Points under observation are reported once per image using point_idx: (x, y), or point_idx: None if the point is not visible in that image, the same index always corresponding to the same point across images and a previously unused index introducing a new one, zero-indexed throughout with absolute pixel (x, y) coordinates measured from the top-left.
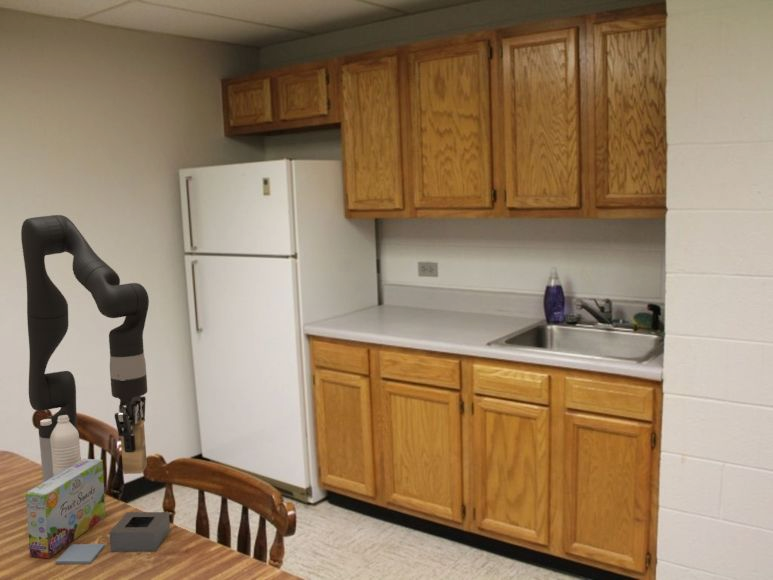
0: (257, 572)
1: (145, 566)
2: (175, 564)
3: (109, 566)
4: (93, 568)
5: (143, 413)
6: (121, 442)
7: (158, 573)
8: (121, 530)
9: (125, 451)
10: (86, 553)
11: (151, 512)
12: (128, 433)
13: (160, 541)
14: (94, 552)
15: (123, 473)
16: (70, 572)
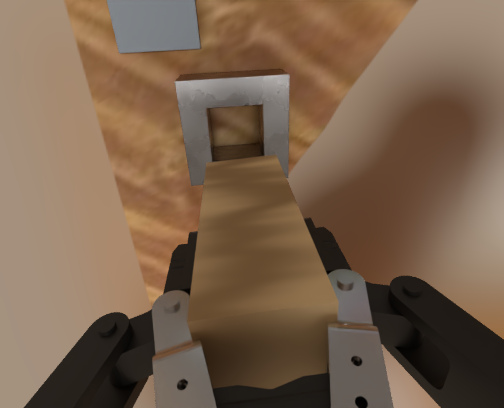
0: None
1: (138, 173)
2: (156, 218)
3: (122, 103)
4: (105, 70)
5: (428, 386)
6: (198, 239)
7: (122, 204)
8: (189, 108)
9: (189, 234)
10: (150, 22)
11: (287, 140)
12: (106, 381)
13: None
14: (158, 42)
15: (207, 163)
16: (74, 21)
